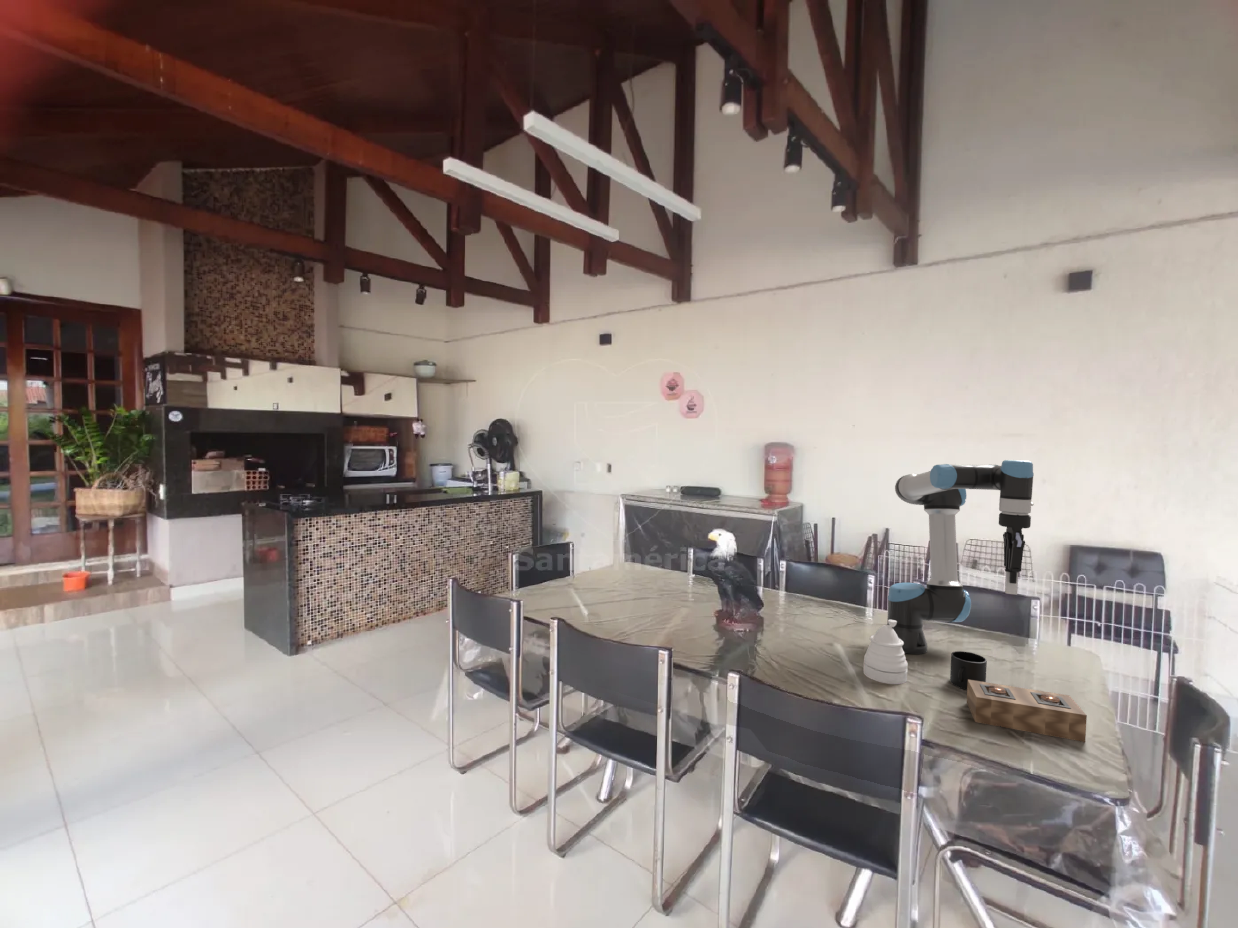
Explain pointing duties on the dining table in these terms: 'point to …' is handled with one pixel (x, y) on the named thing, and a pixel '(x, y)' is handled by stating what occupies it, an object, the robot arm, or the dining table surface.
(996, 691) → the peg
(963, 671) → the mug
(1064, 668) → the dining table surface
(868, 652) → the honey pot
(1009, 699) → the socket block
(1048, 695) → the peg
